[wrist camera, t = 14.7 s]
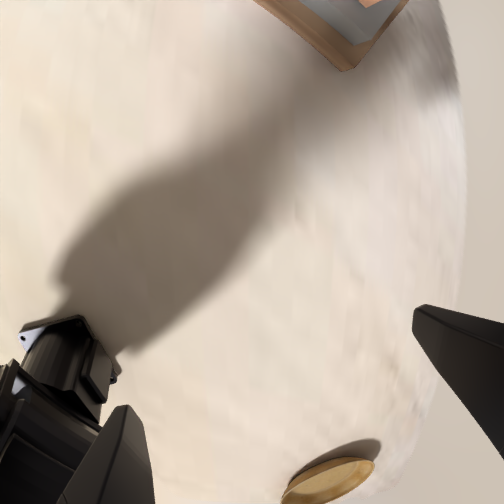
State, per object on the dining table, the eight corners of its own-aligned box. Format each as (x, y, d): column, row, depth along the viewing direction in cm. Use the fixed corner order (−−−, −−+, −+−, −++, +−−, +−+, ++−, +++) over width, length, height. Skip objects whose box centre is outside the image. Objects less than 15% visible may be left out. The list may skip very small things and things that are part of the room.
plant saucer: (383, 451, 39) (390, 462, 37) (317, 498, 41) (323, 509, 39) (329, 441, 33) (337, 456, 31) (254, 495, 35) (259, 509, 33)
